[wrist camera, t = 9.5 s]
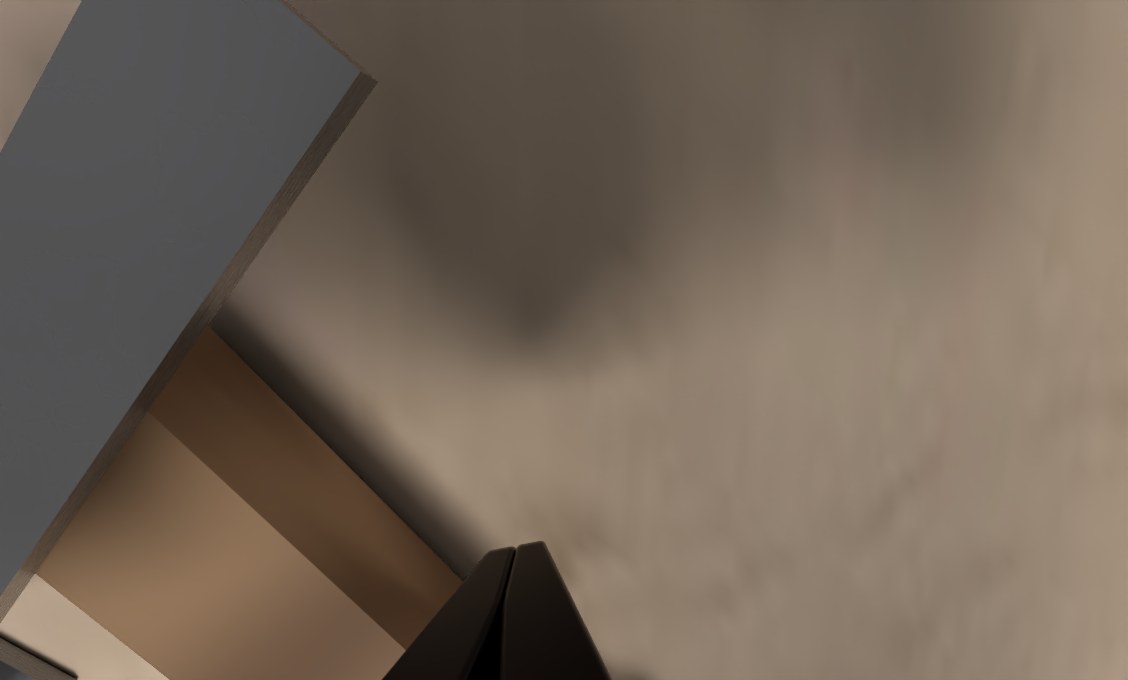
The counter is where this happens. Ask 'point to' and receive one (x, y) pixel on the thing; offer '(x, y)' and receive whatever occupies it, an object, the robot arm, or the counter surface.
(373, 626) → the tan wooden bar
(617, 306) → the counter surface
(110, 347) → the grey flat bar piece
